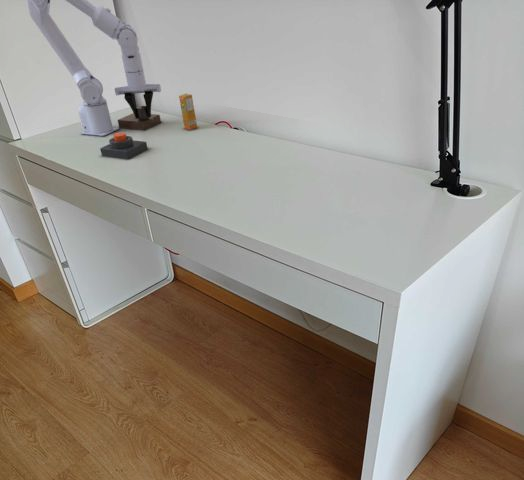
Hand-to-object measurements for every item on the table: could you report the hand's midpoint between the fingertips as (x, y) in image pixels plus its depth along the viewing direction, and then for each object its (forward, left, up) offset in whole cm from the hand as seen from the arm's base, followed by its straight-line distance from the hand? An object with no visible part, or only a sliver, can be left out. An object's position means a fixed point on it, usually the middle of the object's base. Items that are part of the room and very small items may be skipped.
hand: (143, 117), depth 165 cm
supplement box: (+17, +2, -3) cm, 17 cm away
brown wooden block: (-3, +1, -3) cm, 4 cm away
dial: (0, 0, 0) cm, 0 cm away
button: (+11, -24, +1) cm, 27 cm away
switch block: (+11, -24, -3) cm, 27 cm away
